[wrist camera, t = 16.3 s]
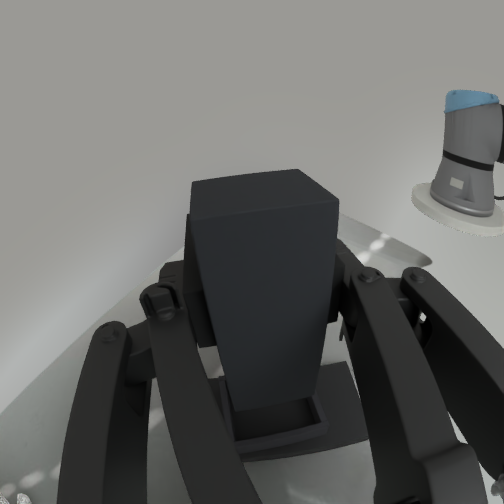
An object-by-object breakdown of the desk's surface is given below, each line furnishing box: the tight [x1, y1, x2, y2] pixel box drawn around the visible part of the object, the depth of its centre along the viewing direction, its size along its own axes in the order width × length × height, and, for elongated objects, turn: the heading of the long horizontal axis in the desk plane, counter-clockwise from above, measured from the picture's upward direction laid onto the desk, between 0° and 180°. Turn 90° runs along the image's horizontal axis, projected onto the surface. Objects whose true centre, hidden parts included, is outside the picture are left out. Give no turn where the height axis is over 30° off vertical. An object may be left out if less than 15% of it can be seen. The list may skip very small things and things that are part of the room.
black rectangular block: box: [189, 169, 339, 412], centre depth 11 cm, size 4×4×10 cm
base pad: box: [208, 361, 369, 462], centre depth 16 cm, size 12×6×2 cm, turn 94°
